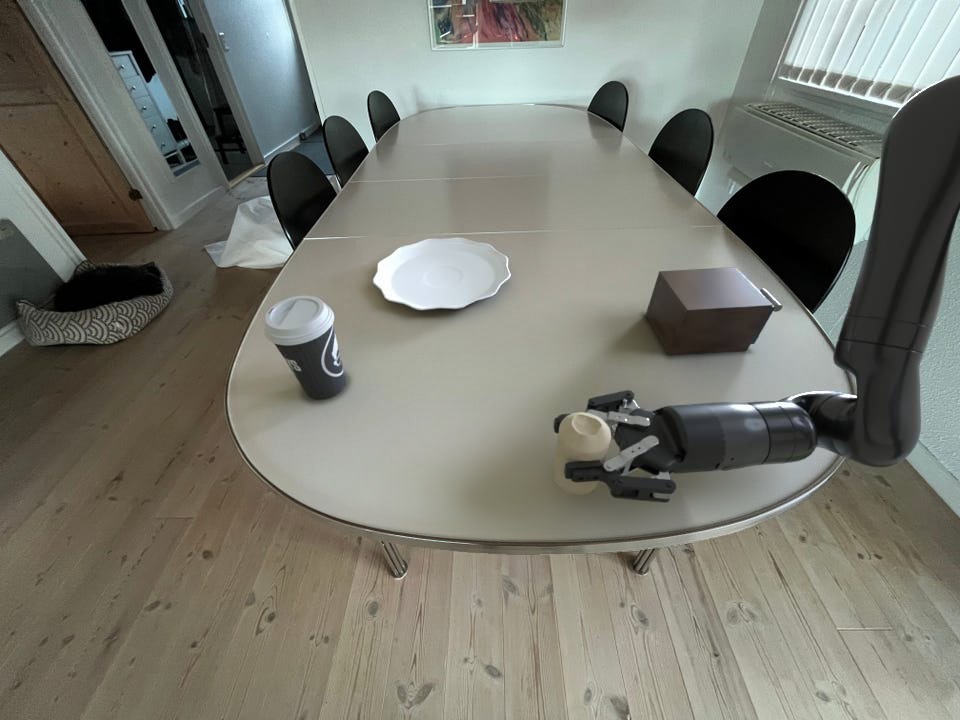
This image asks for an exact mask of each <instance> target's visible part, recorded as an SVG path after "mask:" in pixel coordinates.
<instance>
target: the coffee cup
mask: <svg viewBox="0 0 960 720" xmlns="http://www.w3.org/2000/svg"><path fill="white" fill-rule="evenodd" d="M334 321H335V314H334V312H333V310H332V309H331V308H330V306H329V305H327V304H326V303H325V302H324V301H323V300H322V299H320V298H318V297H316V296H313V295H297V296H292V297H288V298H285V299H282V300H281V301H279V302H277V303H275V304H273V306H271V307H270V308H269V309H268V310H267V312H266V314H265V317H264V322H263V323H264V325H263V332H264V336H265V338H266V340H268V341H269V342H271V343H272V344H274V345H275V347H276V348H277V350H278V352H279V353H280V356H282V358H283V359H284V361H285V362H286V364H287V366H288V368H289V369H290V370H291V372H292V374H294V377H295V378H296V380H297V381H298V384H299V385H300V386H301V388H302V389H303V391H304V393H305V394H306V395H307V397H309V398H310V399H312V400H317V401H322V400H323V401H324V400H329V399H331V398H333V397H336V396H338V395H339V394H340V393H341V392H342V391H343V390H344V388H345V387H346V385H347V379H346V375H345V370H344V366H343V361H342V358H341V353H340V350H339V345H338V341H337V340H338V339H337V335H336V332H335V328H334Z"/></svg>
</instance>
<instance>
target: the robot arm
mask: <svg viewBox="0 0 960 720" xmlns="http://www.w3.org/2000/svg"><path fill="white" fill-rule="evenodd" d="M876 189H877V190H876V198H875V203H874V209H873V214H872V221H871V225H870V229H869V234H868V238H867V243H866V247H865V250H864V255H863V258H862V262H861V265H860V269H859V273H858V276H857V279H856V282H855V286H854V289H853V292H852V295H851V298H850V301H849V304H848V308H847V310H846V313H845V316H844V318H843V322H842V324H841V328H840V331H839V334H838V337H837V341H836V343H835V346H834V350H833V356H832V360H833V363H834V364H835V365H836V367H838V368H839V369H841V370H842V371H845V372H847V373H850V374H852V375H853V376H854V378H855V384H856V386H855V387H856V395H855V394H851V393H847V392H843V391H836V390H813V391H807V392H802V393H798V394H795V395H791V396H786V397H784V398H781V399H778V400H765V401H750V402H730V401H729V402H728V401H717V402H704V403H691V404H690V403H689V404H675V405H665V406H662V407H660V408H657V409H654V410H653V409H652V410H651V409H646V408H643V407H639V405H638V404H637V402H636V401H635V400H634V398H635V392H634V391H633V390H630V389H626V390H621V391H617V392H612V393H608V394H604V395H598V396H593V397H589V398H588V400H587V404H586V409H585V411H583V412H584V413H590V414H593V415H595V416H597V417H599V418H601V419H602V420H603V421H604V422H605V423H606V424H607V425H608V427H609V429H610V431H611V440H614V442H615V444H616V445H617V447H618V449H619V453H618V454H617V455H615V456H613V457H611V458H610V459H607V460H605V461H604V463H602V464H601V461H600V460H594V461H581V462H569V463H566V464H565V468H564V475H565V478H566V479H571V481H573V482H576V483H578V482H591V481H599V482H601V483H604V484H605V485H606V486H607V488H608V489H609V494H610V495H611V497H612V498H615V499H622V500H632V501H642V502H653V503H654V502H655V503H664V504H665V503H668V502H670V500H671V499H672V497H673V495H674V493H675V492H676V489H677V484H676V483H675V482H674V480H672V479H671V477H670V475H671V474H677V475H679V474H681V475H682V474H693V473H705V472H707V473H708V472H719V471H722V472H727V471H732V470H733V471H734V470H740V469H741V470H742V469H745V468H749V467H755V466H769V465H770V466H771V465H783V464H790V463H791V464H792V463H797V462H801V461H803V460H806V459H807V458H809V457H810V456H811V455H812V454H813V453H814V451H816V448H819V449H824V450H826V451H829V452H831V453H834V454H837V455H839V456H841V457H843V458H846V459H848V460H851V461H853V462H854V463H855V462H856V463H857V464H860V465H863V466H867V467H871V468H879V469H880V468H888V467H892V466H895V465H897V464H899V463H901V462H902V461H904V460H905V459H906V458H907V457H909V456H910V455H911V453H913V451H914V450H915V448H916V447H917V445H918V442H919V439H920V436H921V432H922V431H921V430H922V406H921V405H922V404H921V375H920V370H921V369H920V366H921V363H922V360H923V358H924V355H925V354H924V353H925V352H926V350H927V347H928V344H929V341H930V339H931V336H932V333H933V330H934V326H935V324H936V321H937V318H938V314H939V311H940V307H941V303H942V298H943V295H944V294H943V293H944V287H945V280H946V273H947V267H948V261H949V254H950V249H951V244H952V239H953V234H954V230H955V226H956V223H957V220H958V216H959V213H960V74H957V75H954V76H952V77H947V78H944V79H942V80H940V81H937V82H935V83H933V84H930V85H929V86H927V87H926V88H924V89H922V90H921V91H919V92H918V93H916V94H914V96H912V97H911V98H909V99H908V101H907V100H906V102H905V103H904V104H903V105H902V106H901V107H900V108H899V109H898V111H897V112H896V113H895V114H894V116H893V117H892V118H891V120H890V122H889V123H888V125H887V127H886V128H885V131H884V134H883V137H882V144H881V153H880V162H879V171H878V182H877V188H876ZM570 414H571V413H562V414H559V415H557V416H556V417H555V418H554V419H553V425H552V427H553V431H554V433H555V434H558V433H559V427H560V424H561V422H562V420H563V419H564V418H565V417H567V416H568V415H570ZM615 424H616V427H615V428H614V427H613V425H615ZM637 470H642V471H643V472H646V473H648V474H650V475H651V477H643V476H632V475H631V476H630V474H632V473H634V472H635V471H637Z"/></svg>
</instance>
